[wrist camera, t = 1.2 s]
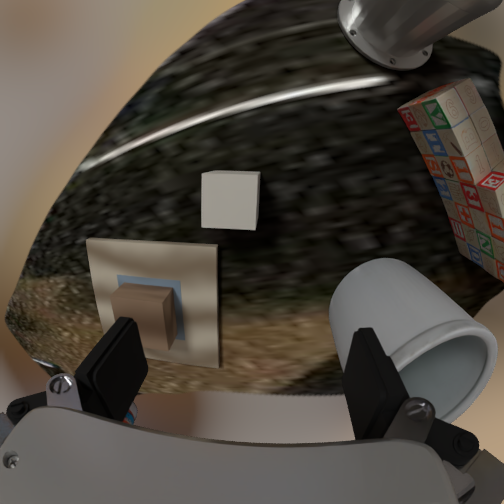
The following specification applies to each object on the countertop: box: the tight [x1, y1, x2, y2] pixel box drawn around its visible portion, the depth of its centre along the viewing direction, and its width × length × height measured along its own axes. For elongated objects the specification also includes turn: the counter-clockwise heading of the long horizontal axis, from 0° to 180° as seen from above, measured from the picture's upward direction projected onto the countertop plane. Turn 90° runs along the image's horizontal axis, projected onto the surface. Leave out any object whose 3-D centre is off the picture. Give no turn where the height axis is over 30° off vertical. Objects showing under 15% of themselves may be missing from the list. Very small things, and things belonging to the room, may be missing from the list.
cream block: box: [202, 171, 260, 230], centre depth 28 cm, size 5×5×6 cm
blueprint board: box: [86, 238, 220, 368], centre depth 36 cm, size 18×18×1 cm
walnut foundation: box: [110, 282, 178, 352], centre depth 33 cm, size 7×7×4 cm
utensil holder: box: [329, 258, 498, 424], centre depth 26 cm, size 15×15×18 cm
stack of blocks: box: [397, 78, 504, 282], centre depth 22 cm, size 21×6×12 cm, turn 35°
